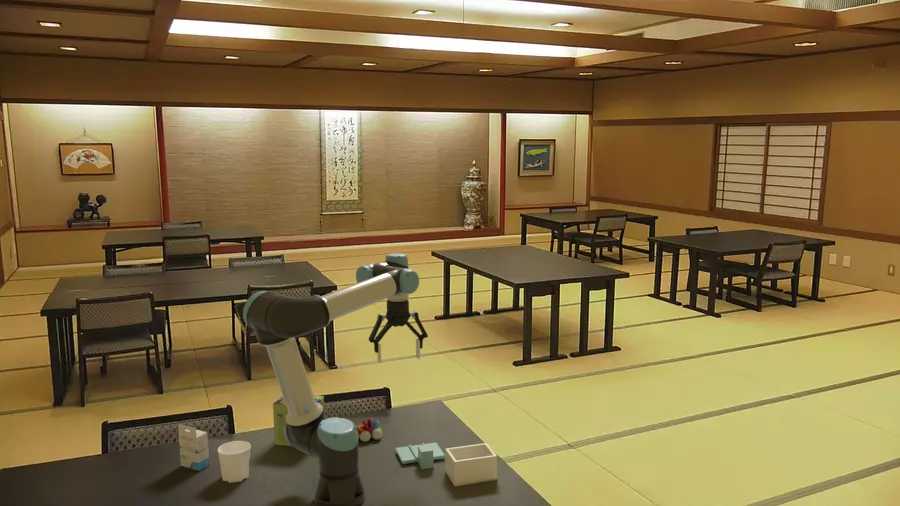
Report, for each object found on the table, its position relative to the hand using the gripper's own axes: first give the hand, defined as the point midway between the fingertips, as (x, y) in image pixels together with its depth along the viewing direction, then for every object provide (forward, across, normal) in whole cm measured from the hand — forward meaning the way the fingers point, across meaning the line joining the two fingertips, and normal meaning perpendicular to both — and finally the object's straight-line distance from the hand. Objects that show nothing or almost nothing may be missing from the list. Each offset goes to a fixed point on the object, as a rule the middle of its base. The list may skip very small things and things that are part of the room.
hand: (398, 359), depth 236 cm
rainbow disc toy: (+32, -9, +11) cm, 35 cm away
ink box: (+32, -68, +6) cm, 76 cm away
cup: (+32, -55, -6) cm, 64 cm away
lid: (+32, +5, -11) cm, 34 cm away
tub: (+32, +17, -28) cm, 45 cm away
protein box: (+32, -33, +16) cm, 49 cm away
